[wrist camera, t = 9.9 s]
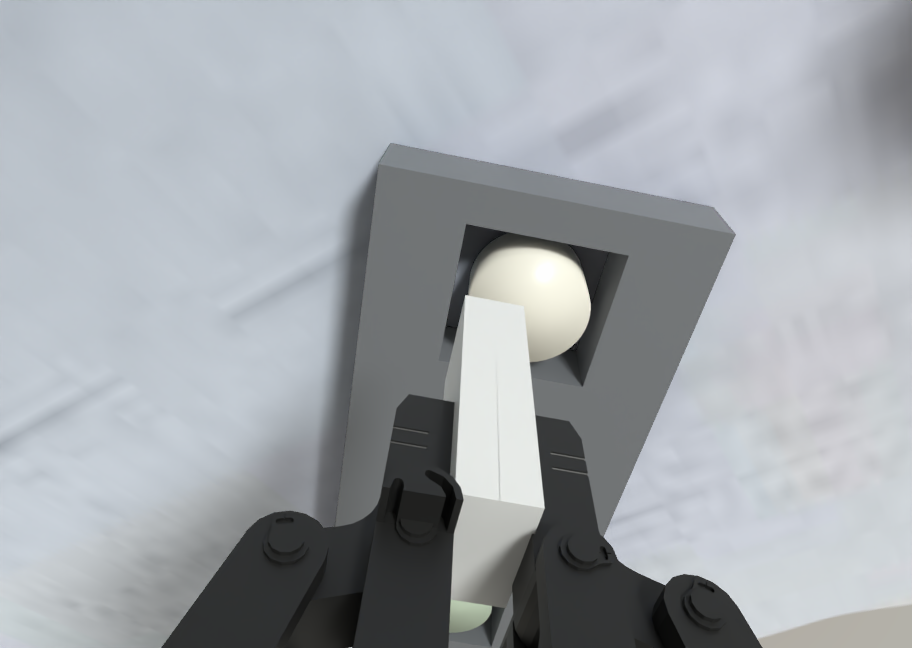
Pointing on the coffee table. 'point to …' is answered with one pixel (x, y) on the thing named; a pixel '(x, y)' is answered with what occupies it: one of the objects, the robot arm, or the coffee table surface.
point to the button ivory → (536, 289)
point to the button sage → (467, 615)
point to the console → (553, 380)
